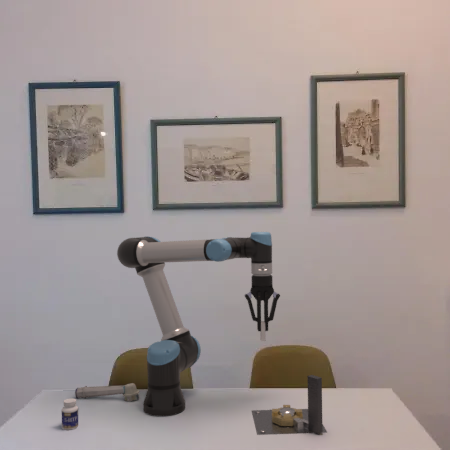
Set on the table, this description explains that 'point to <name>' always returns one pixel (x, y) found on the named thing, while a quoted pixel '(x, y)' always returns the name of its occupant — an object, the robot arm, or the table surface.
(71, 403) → the pill bottle
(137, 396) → the grey elongated piece
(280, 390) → the table surface
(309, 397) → the grey and tan piece
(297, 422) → the flange
